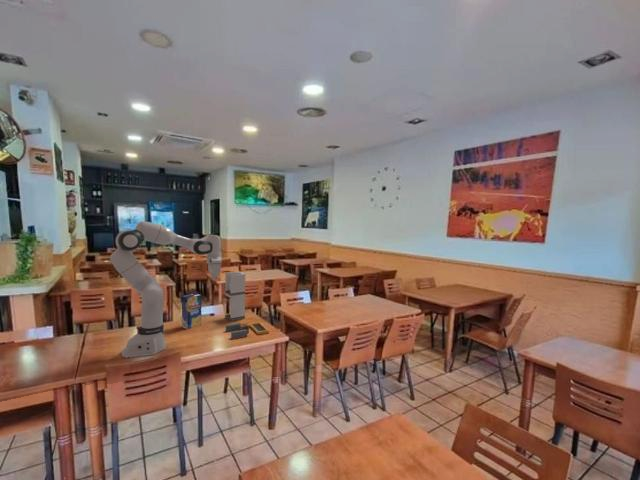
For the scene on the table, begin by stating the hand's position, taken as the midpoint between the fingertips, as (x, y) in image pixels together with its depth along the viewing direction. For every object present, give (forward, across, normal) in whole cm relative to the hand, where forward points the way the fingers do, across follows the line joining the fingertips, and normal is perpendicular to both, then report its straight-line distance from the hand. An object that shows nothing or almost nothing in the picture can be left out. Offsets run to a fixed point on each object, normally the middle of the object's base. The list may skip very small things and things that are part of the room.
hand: (213, 279), depth 204 cm
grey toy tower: (+37, -28, +22) cm, 52 cm away
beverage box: (+37, -24, -10) cm, 46 cm away
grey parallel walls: (+37, +4, +14) cm, 40 cm away
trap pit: (+37, +4, +30) cm, 48 cm away
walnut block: (+37, +4, +19) cm, 42 cm away
